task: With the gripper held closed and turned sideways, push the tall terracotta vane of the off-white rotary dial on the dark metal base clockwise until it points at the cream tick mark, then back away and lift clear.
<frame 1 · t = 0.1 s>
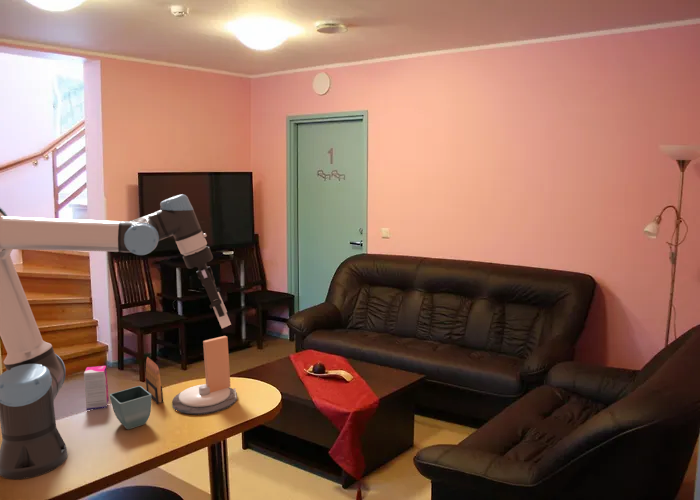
hand: (224, 319, 168), 28 cm above the table, tool tilted 20°, fingers open, 13 cm apart
dial: (204, 369, 180), point 10 cm above the table, hinge at 0.0°
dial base: (205, 401, 181), on the table
supplement box: (98, 406, 180), on the table
flower pot: (133, 425, 167), on the table
ammunition clip: (155, 398, 185), on the table
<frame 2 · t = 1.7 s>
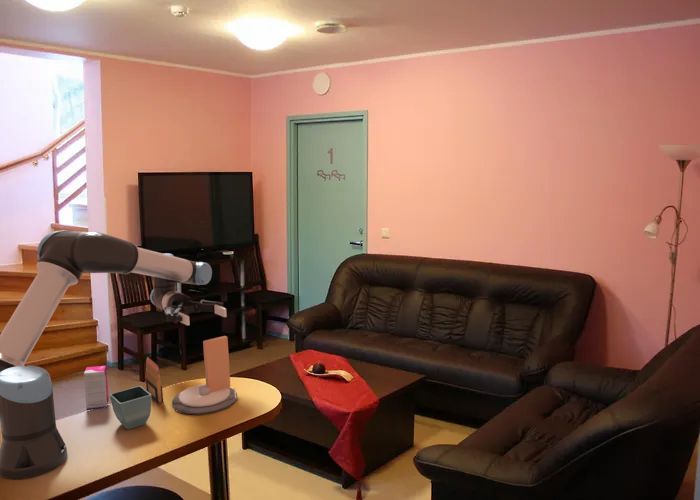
hand: (207, 316, 184), 24 cm above the table, tool horizontal, fingers open, 12 cm apart
nothing on the table moved.
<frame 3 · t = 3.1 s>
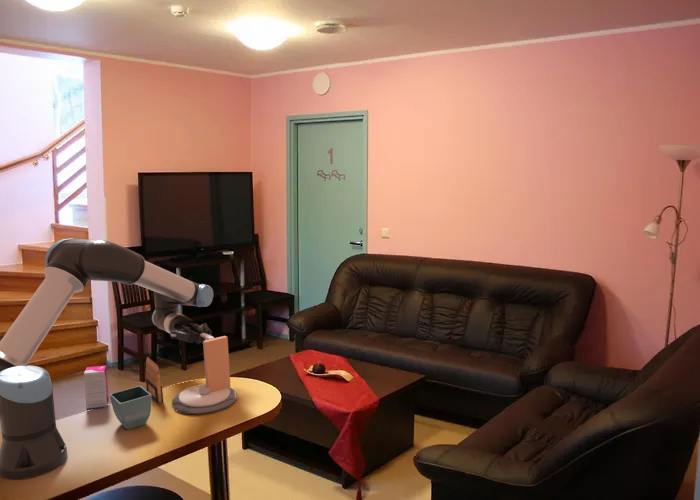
hand: (212, 342, 185), 16 cm above the table, tool horizontal, fingers closed
nothing on the table moved.
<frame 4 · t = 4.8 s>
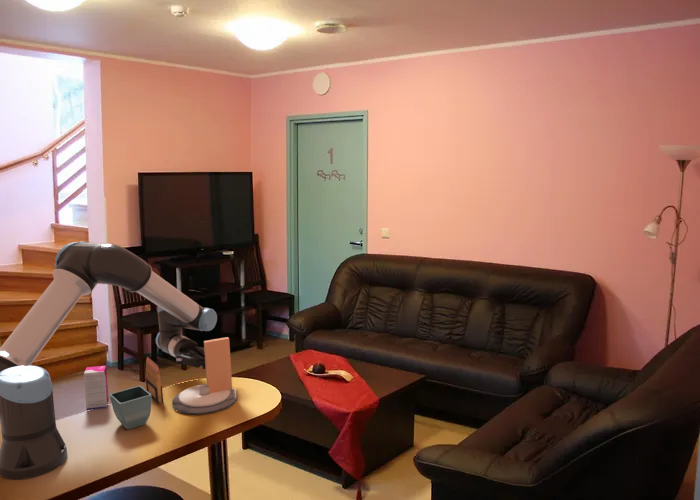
hand: (219, 367, 183), 9 cm above the table, tool horizontal, fingers closed
dial: (204, 369, 179), point 10 cm above the table, hinge at -12.5°, touching gripper
everything else where it was.
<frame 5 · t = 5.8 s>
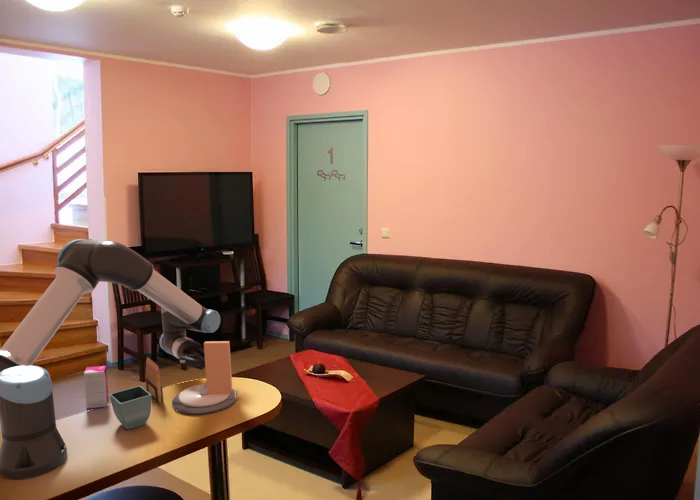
hand: (222, 369, 181), 9 cm above the table, tool horizontal, fingers closed
dial: (204, 369, 179), point 10 cm above the table, hinge at -42.1°, touching gripper
everything else where it was.
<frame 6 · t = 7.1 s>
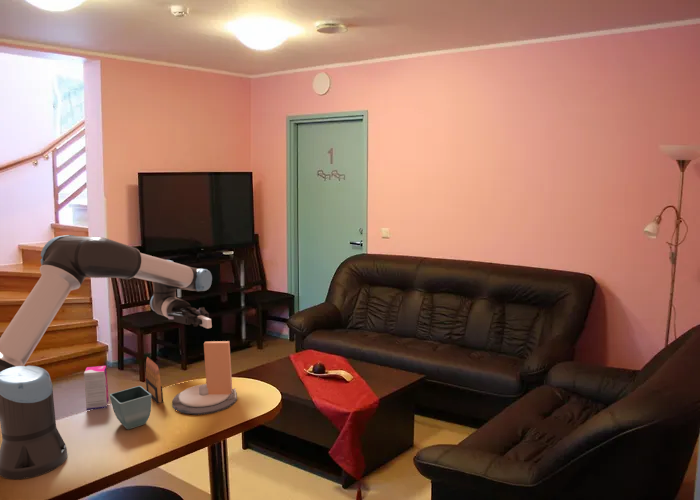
hand: (209, 323, 184), 22 cm above the table, tool horizontal, fingers closed
dial: (204, 369, 179), point 10 cm above the table, hinge at -42.2°
everything else where it was.
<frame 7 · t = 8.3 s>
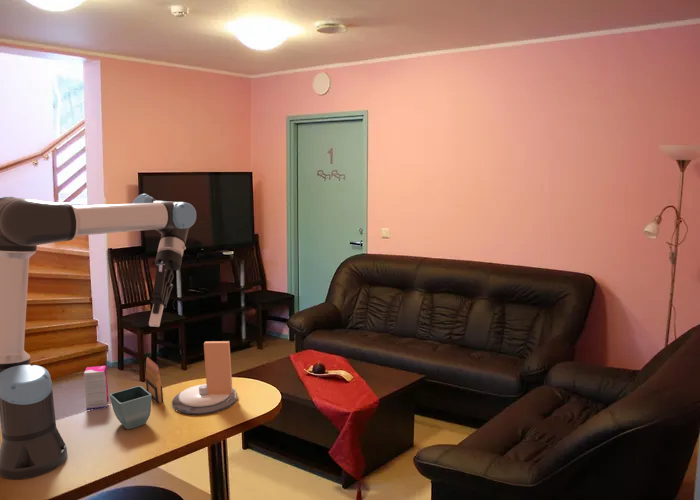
hand: (153, 325, 170), 26 cm above the table, tool tilted 40°, fingers closed
nothing on the table moved.
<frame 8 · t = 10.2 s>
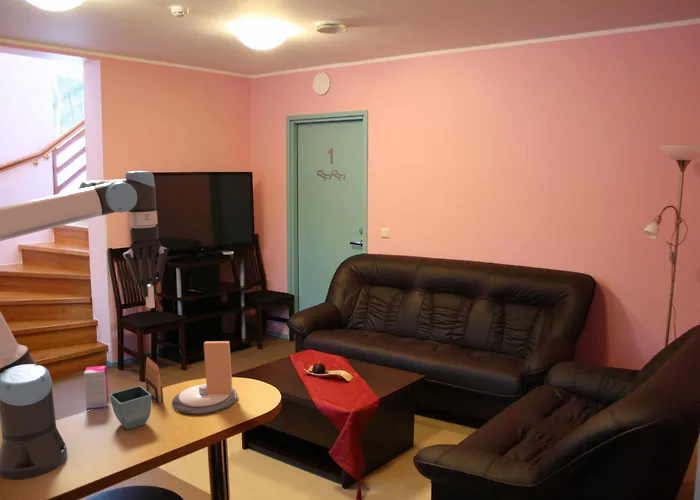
hand: (150, 307, 173), 30 cm above the table, tool pointing down, fingers closed
nothing on the table moved.
at the end: dial at -42° (first picture: +0°) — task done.
